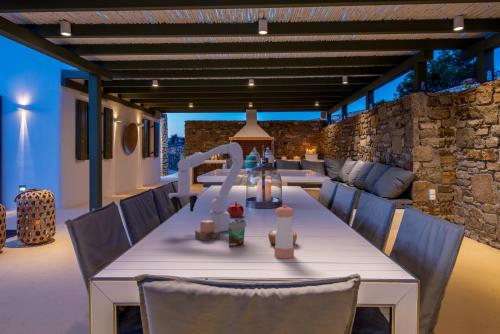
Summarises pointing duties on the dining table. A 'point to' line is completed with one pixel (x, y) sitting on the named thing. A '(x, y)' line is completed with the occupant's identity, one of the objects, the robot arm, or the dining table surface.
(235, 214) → the pomegranate
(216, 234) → the walnut block
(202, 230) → the terracotta cube
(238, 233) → the food container
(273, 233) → the pastry
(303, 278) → the dining table surface
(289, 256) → the pepper shaker
